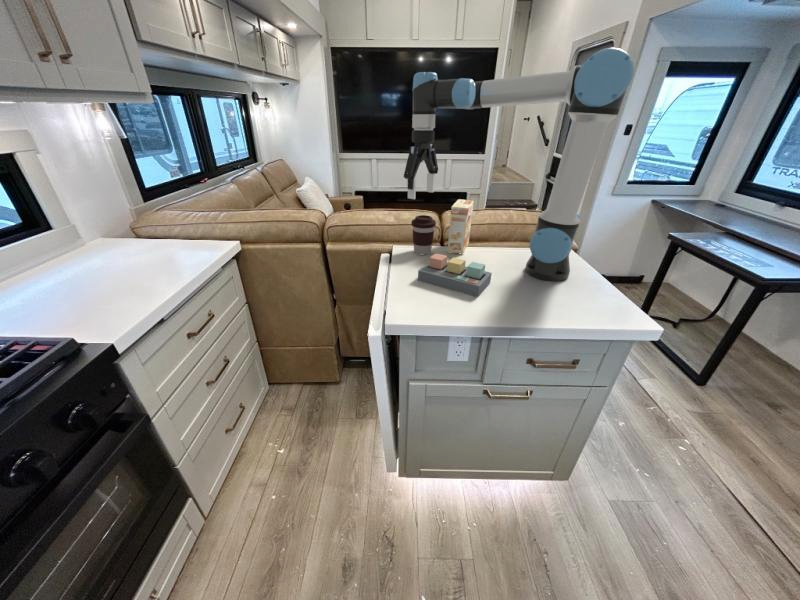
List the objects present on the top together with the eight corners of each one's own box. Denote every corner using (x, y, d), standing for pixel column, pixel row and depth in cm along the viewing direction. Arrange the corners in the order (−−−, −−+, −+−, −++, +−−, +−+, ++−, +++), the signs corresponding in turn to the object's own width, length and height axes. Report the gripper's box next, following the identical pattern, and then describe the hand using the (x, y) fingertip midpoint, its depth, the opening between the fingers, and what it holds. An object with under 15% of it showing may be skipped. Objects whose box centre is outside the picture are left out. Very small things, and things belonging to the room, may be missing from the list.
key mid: (464, 269, 113) (465, 260, 111) (459, 274, 109) (460, 264, 108) (452, 266, 115) (453, 257, 113) (447, 271, 112) (447, 261, 110)
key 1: (446, 265, 116) (447, 256, 114) (440, 269, 113) (441, 260, 111) (435, 262, 118) (435, 253, 116) (429, 266, 115) (429, 257, 113)
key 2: (484, 274, 110) (485, 264, 108) (479, 279, 106) (480, 269, 104) (471, 271, 112) (472, 261, 110) (466, 275, 108) (467, 266, 107)
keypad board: (490, 283, 113) (491, 271, 111) (477, 297, 104) (479, 285, 102) (433, 268, 123) (434, 258, 121) (417, 280, 114) (418, 269, 112)
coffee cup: (412, 247, 143) (412, 213, 135) (434, 248, 142) (436, 214, 134) (409, 255, 134) (410, 220, 127) (433, 257, 133) (435, 221, 126)
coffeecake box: (463, 255, 135) (468, 208, 126) (446, 252, 138) (450, 206, 128) (469, 243, 148) (474, 200, 138) (453, 241, 150) (457, 198, 140)
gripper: (431, 128, 118) (428, 188, 128) (392, 130, 100) (393, 200, 110) (449, 128, 114) (445, 190, 125) (413, 130, 96) (412, 203, 107)
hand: (421, 195), depth 118 cm, fingers open, 13 cm apart
